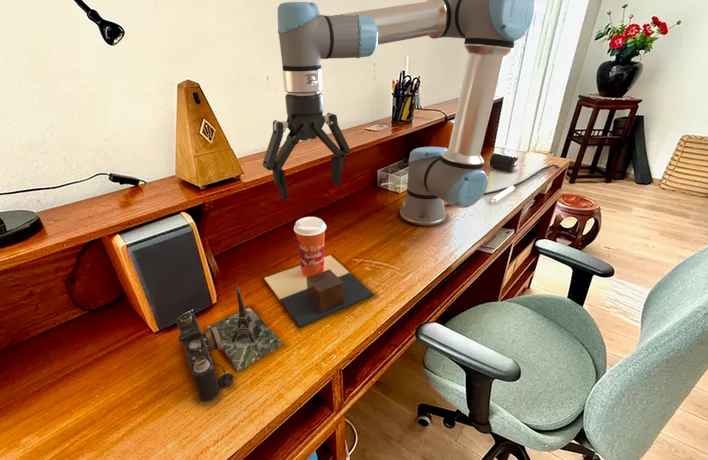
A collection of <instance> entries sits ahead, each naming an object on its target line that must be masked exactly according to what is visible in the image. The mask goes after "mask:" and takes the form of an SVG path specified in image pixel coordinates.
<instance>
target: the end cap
mask: <svg viewBox="0 0 708 460" xmlns="http://www.w3.org/2000/svg"><path fill="white" fill-rule="evenodd" d="M518 160H519V157H518V156H516V155H506V154H505V153H502V152H499V153H496V152H494V153H492V155H491V157H490V158H489V166H490V168H492V169H496V170H500V171H504V172H508V173H513V172H514V171H516V167H517V164H518V163H516V162H517V161H518Z"/></svg>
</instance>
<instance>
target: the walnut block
mask: <svg viewBox="0 0 708 460" xmlns="http://www.w3.org/2000/svg"><path fill="white" fill-rule="evenodd" d="M306 279H307V292H308V299H309V300H310V302H311V303H312V304H313V305H314V306H315V308H316V309H317V310H318V311H319V312H320V313H323V312H325V311H327V310H330V309H332V308H334V307H337V306H339V305H341V304H344V295H343V282H342V281H341V280H340V279H339V278H338V277H337V276H336V275H335V274H334V273H333V272H332V271H331V270H330V269H329V270H326V271H323V272H321V273H318V274H315V275H312V276H310V277H307V278H306Z"/></svg>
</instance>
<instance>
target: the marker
mask: <svg viewBox="0 0 708 460" xmlns="http://www.w3.org/2000/svg"><path fill="white" fill-rule="evenodd" d="M509 186H510V187H509ZM509 186H507V187H508V188H507V189H505V190H503V191H500V192H498V193H496V194H495V195H494V196H492V197H491V199H490V203H491V204H495V203H497V202H498V201H500V200H502V199H503V198H505V197H506V196H508V195H509V194H511V193H512V192H514V191H515V189H516V188H515V187H516V186H515V187H514V186H512V185H509Z"/></svg>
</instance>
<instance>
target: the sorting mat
mask: <svg viewBox="0 0 708 460" xmlns="http://www.w3.org/2000/svg"><path fill="white" fill-rule="evenodd" d="M329 269H330V270H331V271H332V272H333V273H334V274H335V275H336V276H337V277H338V278H339V279H340V280H341V281H342V282H343V295H344V304H341V305H339V306H337V307H334V308H332V309H330V310H327V311H325V312H323V313H320V312H319V311H318V310H317V309H316V308H315V306H314V305H313V304H312V303H311V302H310V300H309V299H308V292H307V279H306V278H307V277H306V276H304V275H303V273H302V269H301V264H300V265H297V266H295V267H292V268H289V269H286V270H283V271H280V272H276V273H274V274H271V275H268V276H266V277H264V278H263V279H264V281H265V283H266V284H267V285H268V286H269V288H270V289H271V291H272V292H273V294H274V295H275V296H276V297H277V299H278V300H279V302H280V303H281V304H282V306H283V307H284V308H285V310H286V311H287V312H288V313H289V315H290V316H291V318H292V319H293V320H294V322H295V323H296V324H297V326H298V327H299V328H300V329H301V328H304V327H305V326H307V325H310V324H312V323H315V322H317V321H319V320H321V319H323V318H326V317H328V316H330V315H333V314H335V313H337V312H339V311H342V310H344V309H346V308H348V307H351V306H354V305H356V304H359V303H360V302H362V301H365V300H367V299H370V298H371V297H374V292H372V291H371V290H370V289H368V288H367V287H366V286H365V285H364V284H363V283H362V282H361V281H360V280H359V279H357V278H356V277H355V276H354V275H353V274H352V273H351V272H350V271H348V269H346V268H345V267H344V266H343V265H342V264H341V263H339V261H338V260H336V259H335V258H334V257H333V256H332V255H331V254H330V255H326V256H324V271H326V270H329Z"/></svg>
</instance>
